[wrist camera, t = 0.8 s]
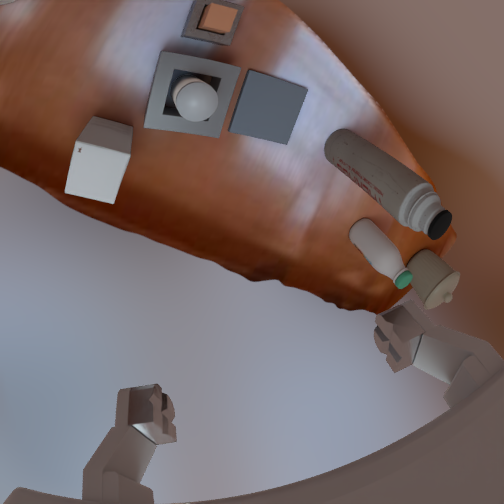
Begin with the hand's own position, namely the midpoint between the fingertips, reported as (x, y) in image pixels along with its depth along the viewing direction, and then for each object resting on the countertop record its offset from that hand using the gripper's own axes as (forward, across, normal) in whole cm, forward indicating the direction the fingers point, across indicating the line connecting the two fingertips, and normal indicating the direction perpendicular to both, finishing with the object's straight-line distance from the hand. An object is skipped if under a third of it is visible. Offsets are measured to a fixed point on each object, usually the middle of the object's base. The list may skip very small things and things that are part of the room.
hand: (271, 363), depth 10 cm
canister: (+61, -64, +57) cm, 105 cm away
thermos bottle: (+47, -26, +6) cm, 54 cm away
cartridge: (+40, 0, -11) cm, 42 cm away
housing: (+40, 0, -11) cm, 42 cm away
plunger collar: (+39, -5, -21) cm, 44 cm away
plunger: (+36, -5, -20) cm, 42 cm away
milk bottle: (+53, -33, +31) cm, 70 cm away
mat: (+43, -12, -4) cm, 45 cm away
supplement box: (+40, +14, -7) cm, 43 cm away
